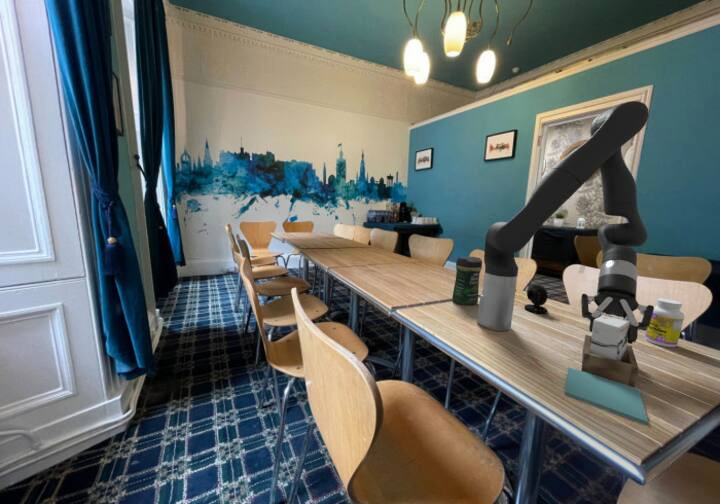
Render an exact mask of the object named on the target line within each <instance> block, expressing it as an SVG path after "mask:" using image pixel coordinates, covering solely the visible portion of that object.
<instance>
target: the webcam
mask: <svg viewBox="0 0 720 504" xmlns="http://www.w3.org/2000/svg"><path fill="white" fill-rule="evenodd" d="M526 297H527V299H528V300H530V302H531V304H525V305H524V307H523V308H524V309H525V310H526V311H527V312H528V313H533V314H538V315H544V314H545V315H546V314H547V313H548V312H549V311H548V308H547V307H545V306H543V305H545V303H547V301H548V292H547V289H546V288H545V287H544V286H542V285H541V284H533V285H532V286H531V287H530V288H529V289H528V290H527V292H526Z"/></svg>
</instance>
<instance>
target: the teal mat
mask: <svg viewBox="0 0 720 504" xmlns="http://www.w3.org/2000/svg"><path fill="white" fill-rule="evenodd" d="M563 395H565V396H567V397H570V398H573V399H577V400H579V401H582V402H584V403H588V404H589V405H593V406H594V407H598V408H601V409H603V410H606V411H608V412H611V413H614V414H617V415H620V416H623V417H625V418H627V419H631V420H633V421H636V422H639V423H641V424H644V425H648V423H649V419H648V417H647V414H646V413H647V412H646V410H645V406H644V402H643V399H642V398H643V397H642V396H641V391H640V389H639V388H637V387H632V386H628V385H625V384H622V383H619V382H616V381H612V380H609V379H606V378H603V377H600V376H596V375H593V374H590V373H587V372H584V371H582V370H580V369H579V370H578V369H577V368H576V369H575V368H573V367H569V366H568V368H567V374H566V380H565V387H564V394H563Z"/></svg>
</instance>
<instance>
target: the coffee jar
mask: <svg viewBox="0 0 720 504" xmlns="http://www.w3.org/2000/svg"><path fill="white" fill-rule="evenodd" d="M455 268H456V270H455V271H456V274H455V281H454V286H453V291H452V298H451V299H452V301H453V302H454V303H456V304H461V305H463V306H467V305H475V304H478V302H479V289H480V288H479V287H480V286H479V285H480V274H481V272H482V268H483V260H482V258H480V257H476V256H459V257H458V258H456V262H455Z"/></svg>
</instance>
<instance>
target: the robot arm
mask: <svg viewBox="0 0 720 504" xmlns="http://www.w3.org/2000/svg"><path fill="white" fill-rule="evenodd" d="M648 119H649V108H648V106H647V105H646V103H644V102H642V101H639V100H637V101H636V100H631V101H626V102H622V103H620V104H618V105H616V106H614V107H611V108H609V109H607V110H606V111H604V112H602V113H600V114H598V115H597V116H596V117H595V118H594V119H593V121H592V123H591V125H590V136H591V137H590V138H589V139H587V141H585V142H584V143H583V144H581V145H580V146H578V147H577V148H575V150H572V151H571V152H570V153H569V154H567V155H566V156H565V157H563V158H562V159H560V160H559V161H558V162H557V163H556V164H555V165H554V166H552V168H550V169H549V171H547V173H546V174H544V176H543V177H542V178H541V179H540V180H539V181H538V183H537V184H536V185H535V187H534V189H533V190H532V193H531V195H530V197H529V199H528V201H527V202H526V204H525V205H524V206H523V208H522V209H521V210H519V212H518V213H517V214H515V215H514V216H513V217H512V218H511V219H510V220H508V221H499V222H498V221H497V222H496V223H493V224H492V225H490V227H489V228H488V230H487V231H486V235H485V238H484V239H485V241H484V251H483V253H484V254H483V263H484V275H483V276H484V278H483V285H482V294H480V296H479V301H478V302H479V304H478V312H477V322H476V323H477V324H478V325H480V326H482V327H484V328H486V329H489V330H493V331H499V332H505V331H510V330H511V328H512V321H513V313H514V305H515V299H516V298H515V297H516V292H517V291H516V290H517V289H516V288H517V283H518V276H519V275H518V274H519V265H518V264H517V263H516V259H515V254H516V253H518V252H520V251H521V250H522V249H523V248H524V247H525V246H526V245H527V244H528V243H529V242H530V241H531V239H532V238H533V237H534V236H535V235H536V233H537V232H538V231H539V230H540V229H541V227H542V226H543V225H544V224H545V222H546V221H547V220H548V219H550V217H552V216H553V215H554V214H555V213H556V212H557V211H558V210H559V209H560V208H561V206H563V205H564V204H565V203H566V202H567V201H568V200H569V199H571V198H572V196H573V195H574V194H575V193H576V192H577V191H578V190H579V189H580V188H581V187H582V186H583V185H584V184H585V183H586V182H587V181H588V180H589V179H590V178H591V177H592V176H593V175H594V174H595V173H596V172H597V171H598V170H599V172H600V173H599V174H600V177H601V184H602V185H601V186H602V199H603V211H604V215H607V216H611V217H612V216H613V217H621V218H625V219H626V220H627V222H622V223H607V224H603V225H602V226H601V227H599V229H598V230H597V239H598V243H599V244H600V247H601V252H602V258H601V259H602V260H601V265H600V270H599V274H598V278H597V279H598V281H597V289H596V293H595V295H588V294H587V293H582V294H581V297H580V298H581V299H580V307H581V316H582V317H581V318H585V319H588V320H589V329H588V330H589V332H590V333H592V329H593V322H594V319H596V318H599V317H601V316H603V315H610V316H614V317H617V318H621V319H624V320H628V321H630V324H629V331H628V339H627V344H630V345H632V344H633V343H636V341H637V339H638V334H639V333H638V331H640V330H641V331H643V332H644V331H645V332H646V330H647V328H648V326H649V325H650V321H651V318H652V314H653V311H654V307H655V306H653V305H652V304H651V305H650V304H649V305H643V304H640V303H639V302H638V300H637V289H638V288H637V286H638V285H637V284H638V282H637V281H638V272H637V264H638V263H637V262H638V261H637V260H638V258H637V257H638V255H637V251H636V250H635V249H634V248H638V247H641V246H643V245H644V244H646V242H647V240H648V237H649V235H648V231H647V229H646V227H645V225H644V223H643V221H642V219H641V216H640V212H639V209H638V202H637V201H638V199H637V198H638V197H637V184H636V181H635V178H634V176H633V174H632V172H631V170H630V169H629V167H628V166H627V164H626V162H625V160H624V157H623V153H622V147H623V146H624V145H625V144H627V143H628V142H629V141H630V140H631V139H632V138H634V137H635V136H636V135H638V134H639V133H640V132H641V130H643V129H644V127H645V126H646V124H647V122H648ZM592 302H594V303H595V304H596V306H597V307H596V309H595V310H594V312H591V311H590V310H589V305H591V304H592ZM636 310H638V311H639V313H640V314H641V315H642V320H641V321H640V322H638V321H637V318H636V317H635V314H634V312H635V311H636Z"/></svg>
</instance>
